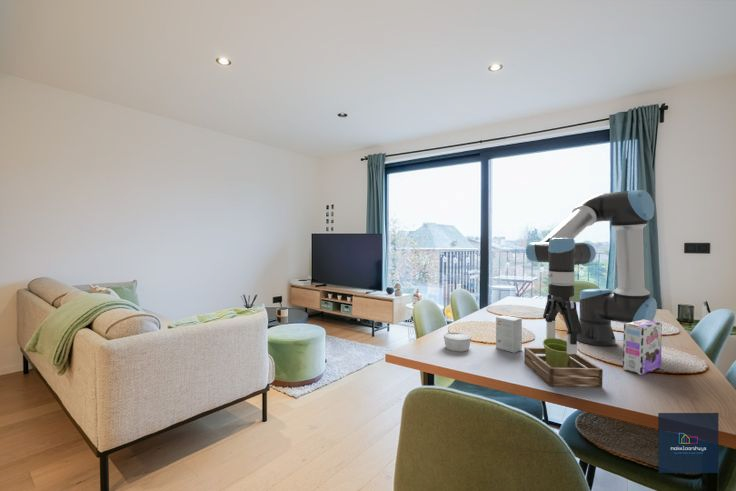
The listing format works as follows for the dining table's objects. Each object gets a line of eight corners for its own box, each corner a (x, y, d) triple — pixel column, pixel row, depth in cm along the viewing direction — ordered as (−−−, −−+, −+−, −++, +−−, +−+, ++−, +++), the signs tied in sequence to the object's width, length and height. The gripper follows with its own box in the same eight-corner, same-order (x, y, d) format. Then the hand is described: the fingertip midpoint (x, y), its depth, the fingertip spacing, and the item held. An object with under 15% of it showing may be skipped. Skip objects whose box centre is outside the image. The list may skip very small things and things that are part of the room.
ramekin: (461, 342, 147) (461, 330, 147) (476, 351, 137) (477, 338, 136) (438, 345, 144) (438, 333, 143) (453, 354, 133) (453, 340, 133)
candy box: (641, 375, 112) (642, 326, 112) (621, 369, 117) (622, 322, 117) (661, 368, 118) (662, 322, 118) (642, 362, 124) (643, 318, 123)
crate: (567, 363, 123) (568, 348, 123) (602, 387, 103) (602, 369, 103) (524, 362, 124) (524, 347, 124) (550, 386, 104) (550, 368, 104)
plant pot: (534, 364, 119) (536, 342, 117) (552, 356, 123) (554, 335, 121) (559, 378, 111) (562, 354, 109) (577, 369, 115) (580, 347, 113)
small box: (522, 349, 138) (522, 318, 137) (514, 353, 134) (514, 320, 133) (503, 344, 144) (503, 314, 144) (495, 348, 140) (495, 316, 140)
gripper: (533, 278, 125) (533, 335, 126) (569, 290, 100) (569, 360, 101) (554, 278, 125) (553, 335, 126) (595, 290, 100) (595, 360, 101)
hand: (560, 346), depth 113 cm, fingers open, 13 cm apart
